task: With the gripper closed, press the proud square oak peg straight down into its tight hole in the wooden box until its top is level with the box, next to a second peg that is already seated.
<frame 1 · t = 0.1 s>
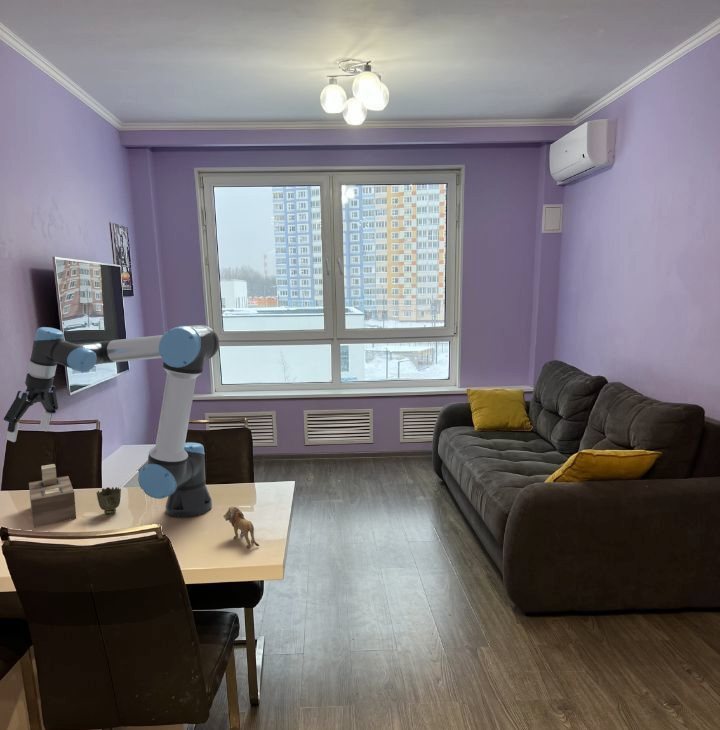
hand: (27, 435, 170), 28 cm above the table, tool tilted 20°, fingers open, 13 cm apart
lion figurine: (242, 540, 154), on the table
peg: (49, 477, 179), point 11 cm above the table, slide at 0.0 cm
wooden box: (53, 512, 176), on the table
cup: (110, 513, 175), on the table
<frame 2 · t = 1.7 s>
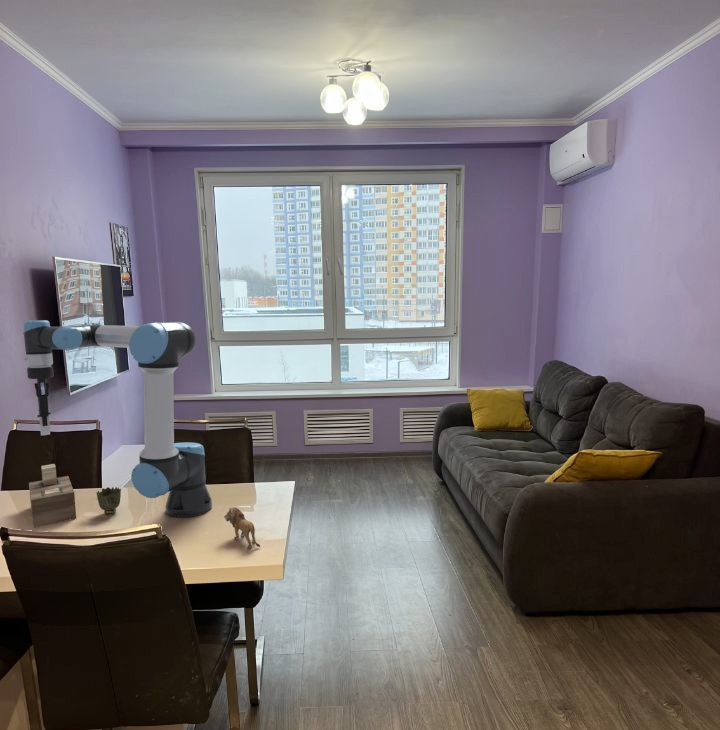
hand: (45, 434, 177), 26 cm above the table, tool pointing down, fingers closed
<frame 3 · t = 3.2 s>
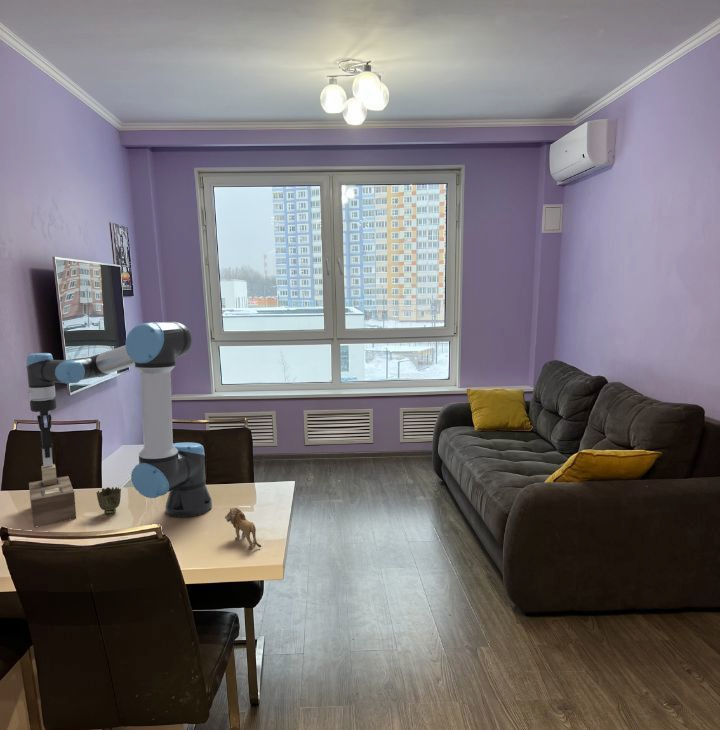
hand: (48, 465, 178), 15 cm above the table, tool pointing down, fingers closed
peg: (49, 477, 179), point 11 cm above the table, slide at 0.1 cm, touching gripper
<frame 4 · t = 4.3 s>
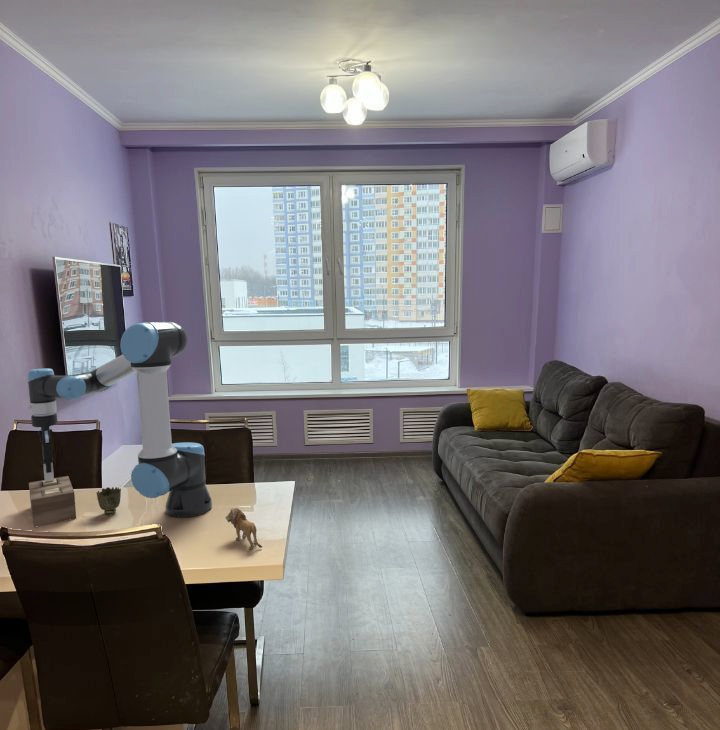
hand: (49, 480, 179), 10 cm above the table, tool pointing down, fingers closed
peg: (50, 492, 179), point 6 cm above the table, slide at 5.4 cm, touching gripper
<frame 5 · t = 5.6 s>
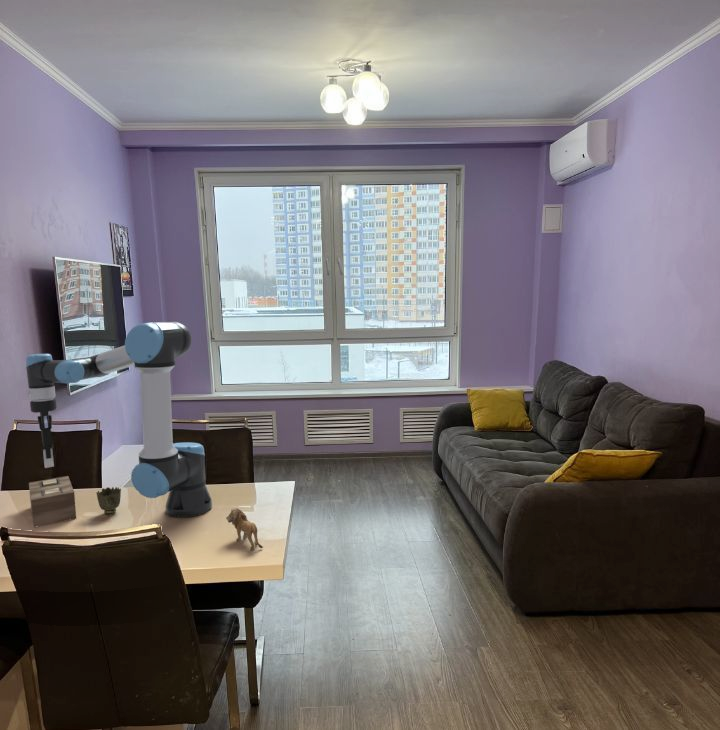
hand: (49, 466, 178), 15 cm above the table, tool pointing down, fingers closed
peg: (50, 492, 179), point 6 cm above the table, slide at 5.5 cm
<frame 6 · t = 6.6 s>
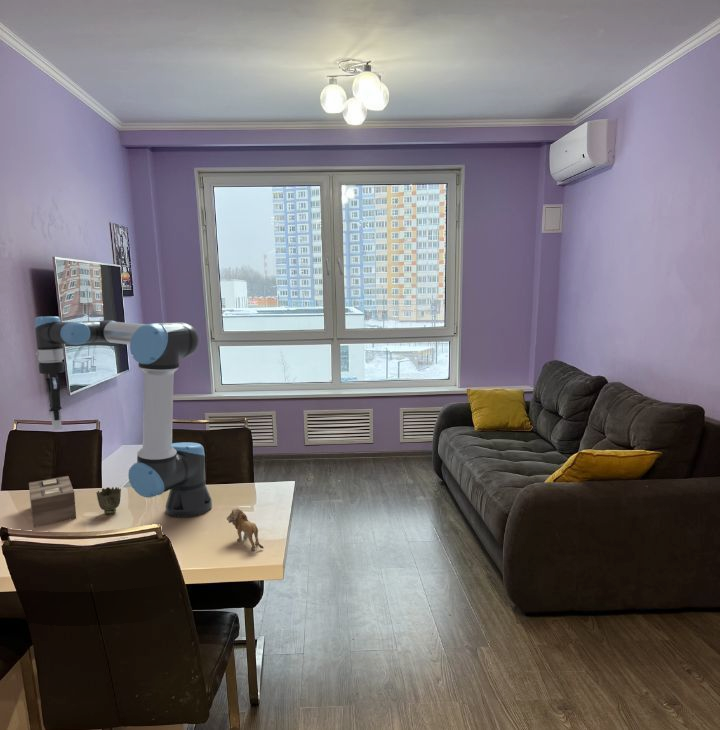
hand: (57, 428, 180), 28 cm above the table, tool pointing down, fingers closed
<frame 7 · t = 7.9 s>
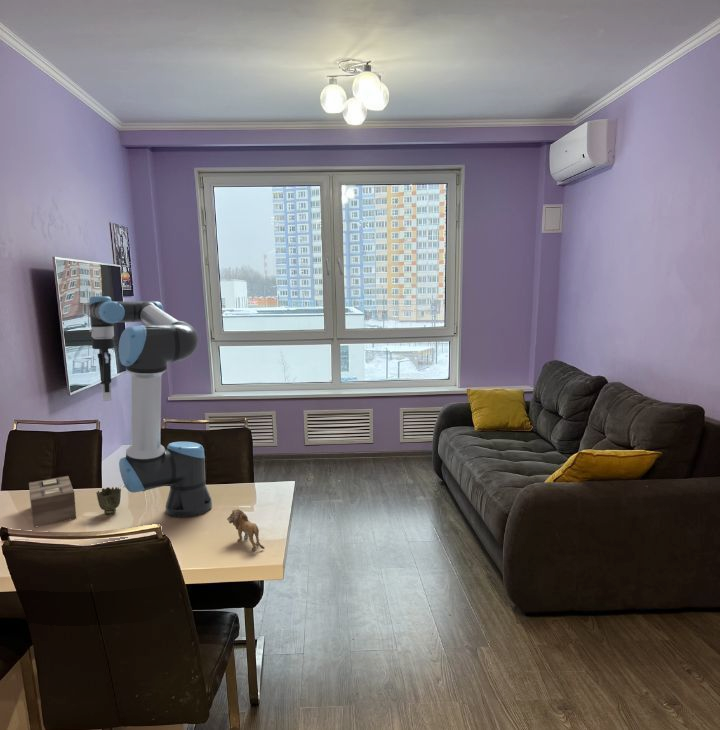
hand: (107, 400, 195), 34 cm above the table, tool pointing down, fingers closed
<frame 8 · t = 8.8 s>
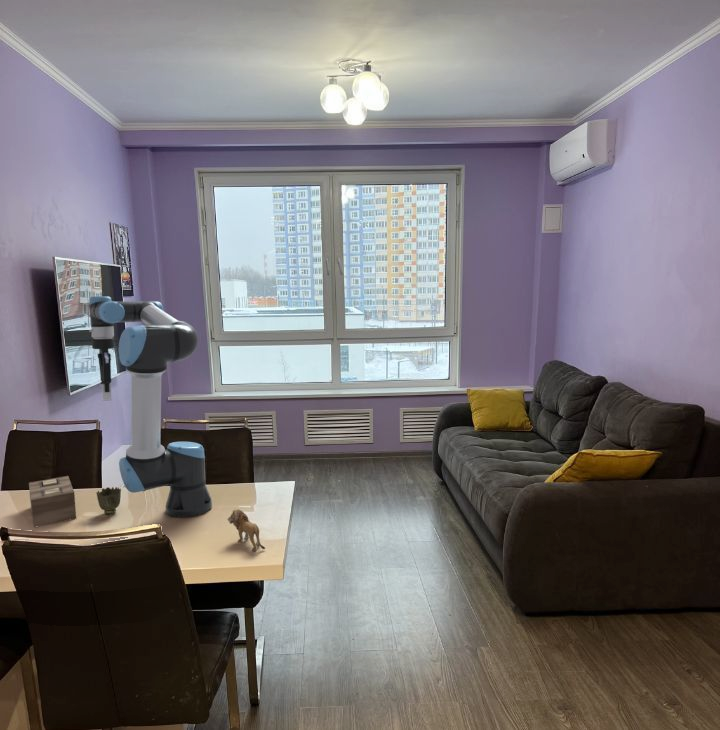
hand: (107, 400, 195), 34 cm above the table, tool pointing down, fingers closed
at the end: peg slide at 5.5 cm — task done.
